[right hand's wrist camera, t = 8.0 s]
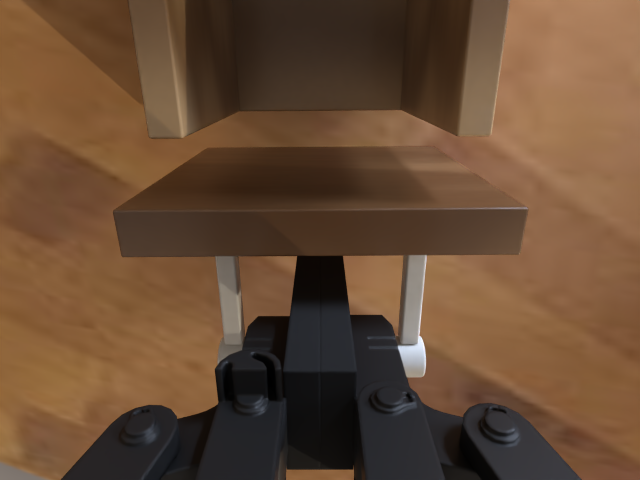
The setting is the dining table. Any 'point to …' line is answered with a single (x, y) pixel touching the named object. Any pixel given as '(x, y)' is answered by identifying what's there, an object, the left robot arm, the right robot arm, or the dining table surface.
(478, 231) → the drawer
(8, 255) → the dining table surface
